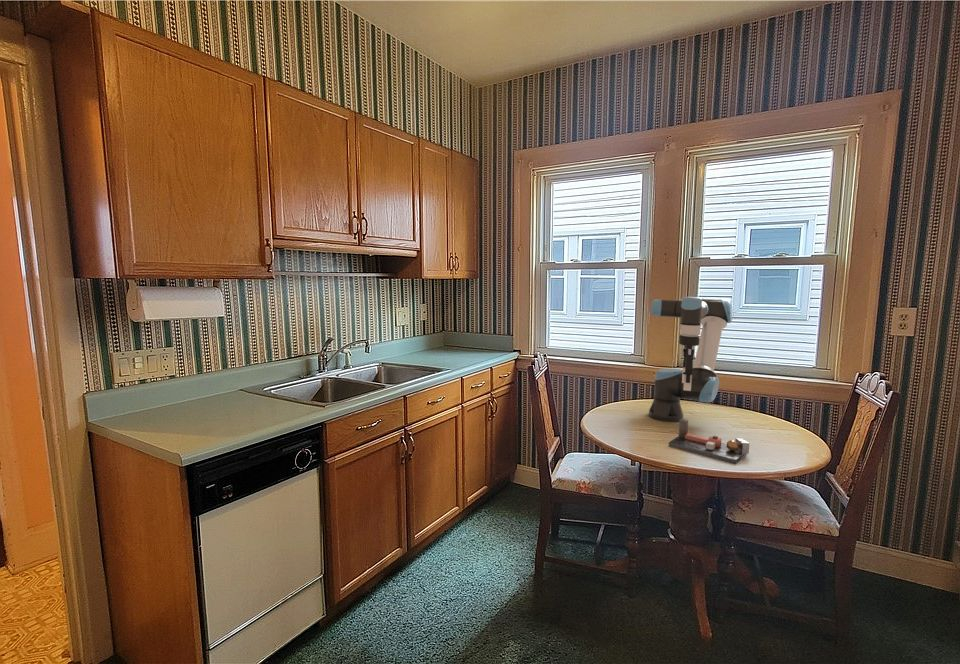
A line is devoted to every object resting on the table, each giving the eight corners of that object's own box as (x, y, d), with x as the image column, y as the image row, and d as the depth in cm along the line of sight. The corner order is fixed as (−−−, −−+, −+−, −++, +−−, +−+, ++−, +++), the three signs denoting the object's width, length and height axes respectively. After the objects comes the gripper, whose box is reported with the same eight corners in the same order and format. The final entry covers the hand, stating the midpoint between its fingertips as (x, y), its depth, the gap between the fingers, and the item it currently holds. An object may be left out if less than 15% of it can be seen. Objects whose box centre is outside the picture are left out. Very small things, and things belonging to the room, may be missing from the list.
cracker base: (668, 446, 179) (669, 432, 178) (682, 437, 188) (683, 424, 188) (740, 465, 161) (741, 450, 160) (751, 454, 171) (752, 440, 170)
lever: (672, 439, 180) (673, 422, 179) (680, 434, 186) (682, 417, 185) (715, 451, 169) (716, 432, 168) (722, 444, 175) (723, 427, 174)
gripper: (678, 331, 196) (675, 379, 198) (680, 338, 173) (677, 392, 176) (697, 332, 193) (694, 380, 196) (702, 339, 170) (698, 394, 173)
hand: (686, 386), depth 186 cm, fingers open, 12 cm apart
